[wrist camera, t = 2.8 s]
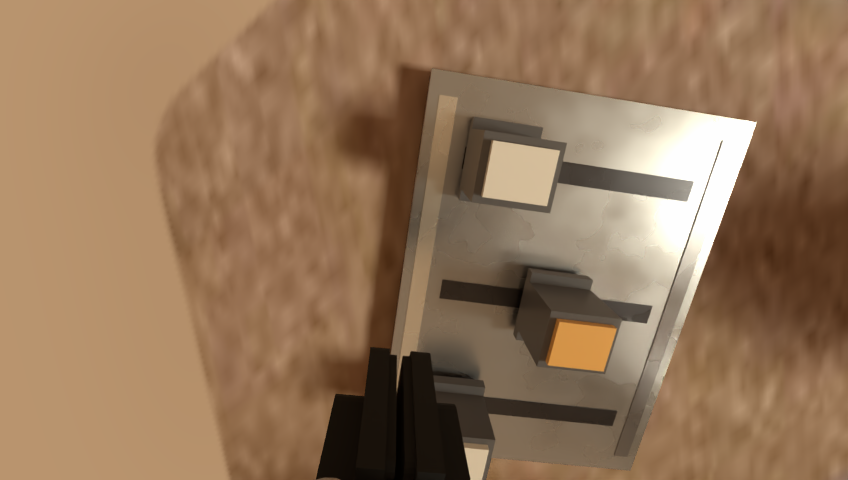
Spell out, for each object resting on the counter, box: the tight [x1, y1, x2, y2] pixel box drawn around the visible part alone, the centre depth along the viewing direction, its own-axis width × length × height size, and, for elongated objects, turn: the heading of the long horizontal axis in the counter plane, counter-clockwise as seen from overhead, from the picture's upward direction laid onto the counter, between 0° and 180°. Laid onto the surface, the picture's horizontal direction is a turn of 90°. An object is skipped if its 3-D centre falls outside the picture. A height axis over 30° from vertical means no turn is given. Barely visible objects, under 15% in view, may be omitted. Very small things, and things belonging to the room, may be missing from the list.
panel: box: [390, 68, 757, 471], centre depth 21 cm, size 15×20×1 cm
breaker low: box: [458, 117, 567, 213], centre depth 16 cm, size 3×4×4 cm
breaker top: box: [433, 375, 495, 480], centre depth 20 cm, size 3×4×4 cm
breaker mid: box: [513, 268, 622, 374], centre depth 18 cm, size 3×4×4 cm
